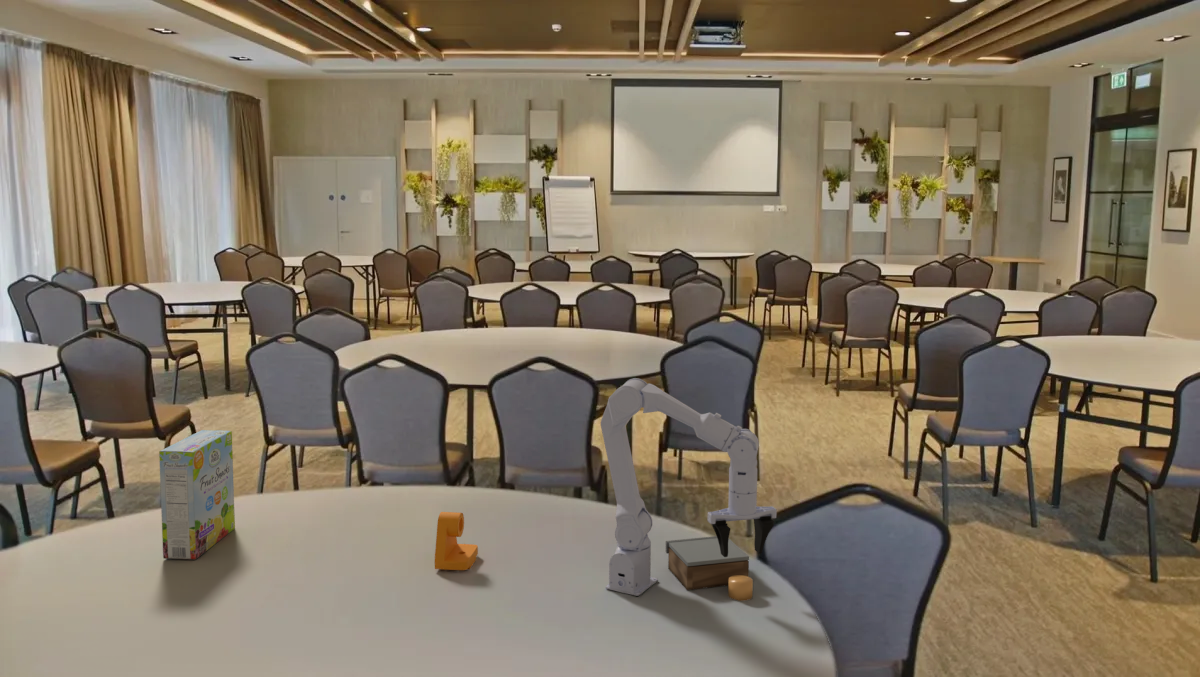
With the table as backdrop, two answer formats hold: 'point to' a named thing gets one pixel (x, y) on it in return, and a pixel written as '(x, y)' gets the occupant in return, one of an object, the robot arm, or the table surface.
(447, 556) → the bracket
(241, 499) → the table surface
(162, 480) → the snack box
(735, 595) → the orange rounded block
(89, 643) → the table surface
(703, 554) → the lid
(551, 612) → the table surface
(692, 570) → the box
